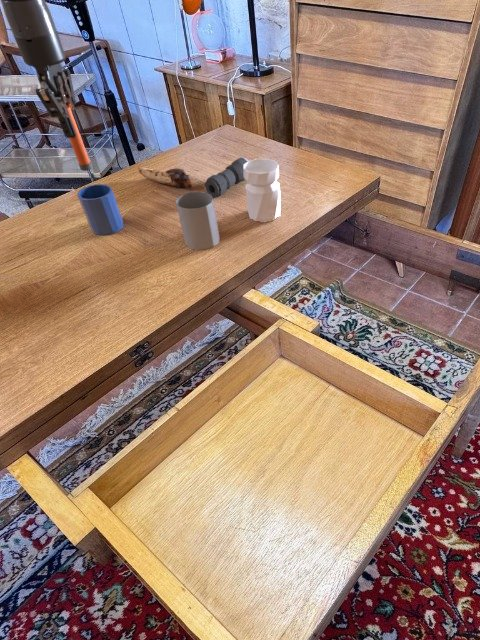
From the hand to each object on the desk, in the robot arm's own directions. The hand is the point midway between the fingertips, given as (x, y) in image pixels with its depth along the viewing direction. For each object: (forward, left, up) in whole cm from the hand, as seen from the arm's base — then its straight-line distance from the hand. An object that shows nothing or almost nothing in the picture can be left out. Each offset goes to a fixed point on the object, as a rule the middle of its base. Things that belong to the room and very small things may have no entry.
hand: (73, 133), depth 94 cm
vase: (+39, +6, -22) cm, 45 cm away
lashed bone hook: (+11, +27, -22) cm, 37 cm away
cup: (+24, -6, -22) cm, 33 cm away
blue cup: (-1, +2, -22) cm, 22 cm away
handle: (0, 0, -7) cm, 7 cm away
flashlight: (+29, +22, -22) cm, 43 cm away
